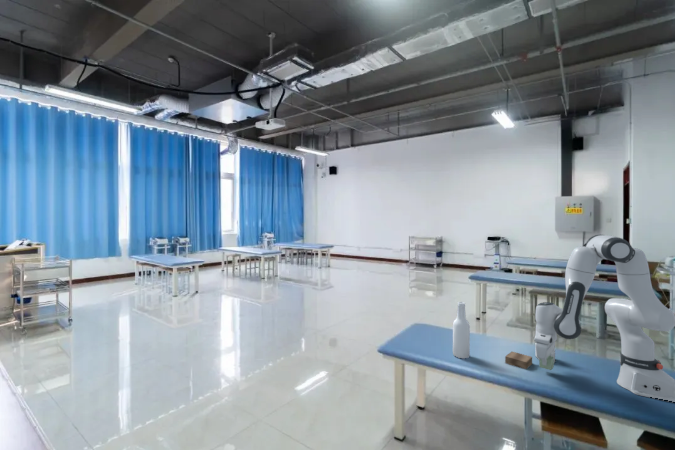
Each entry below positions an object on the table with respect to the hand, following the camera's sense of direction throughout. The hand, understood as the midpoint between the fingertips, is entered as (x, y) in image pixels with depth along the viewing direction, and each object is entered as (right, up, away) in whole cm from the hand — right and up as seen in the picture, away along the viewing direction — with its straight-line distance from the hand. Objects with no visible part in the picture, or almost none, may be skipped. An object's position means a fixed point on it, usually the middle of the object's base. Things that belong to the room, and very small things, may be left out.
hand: (546, 362), depth 158 cm
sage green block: (0, -2, 0) cm, 2 cm away
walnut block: (-8, -6, +11) cm, 14 cm away
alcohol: (-35, -5, +20) cm, 41 cm away
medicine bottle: (+10, -5, +16) cm, 20 cm away
